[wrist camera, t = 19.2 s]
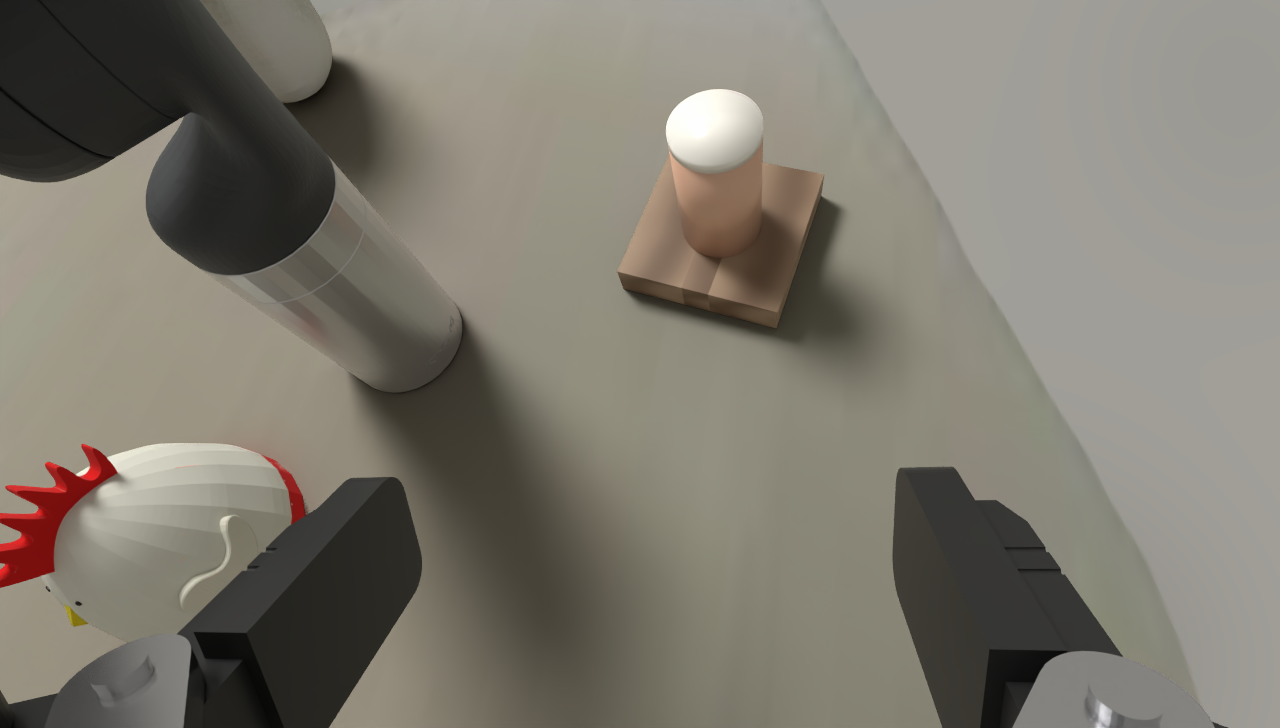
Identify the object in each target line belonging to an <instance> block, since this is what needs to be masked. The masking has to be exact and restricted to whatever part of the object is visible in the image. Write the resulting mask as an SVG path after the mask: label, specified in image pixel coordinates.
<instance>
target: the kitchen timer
mask: <svg viewBox="0 0 1280 728" xmlns="http://www.w3.org/2000/svg"><path fill="white" fill-rule="evenodd" d="M81 446H82V449H83V451H84V453H85V454H86V456H87V458H88V460H89V463H90V467H88V468H86V469H84V470H82V471H81V472H79V473H77V474H76V475H75V474H74V473H72V472H70V471H69V470H67V469H65V468H63V467H61V466H58V465H56V464H53V463H51V462H47V463H45V466H46V468H47V470H48V471H49V473H50V474H51V475H52V477H53V478H54V480H55V482H56V486H55V487H53V488H40V487H28V486H16V485H9V486H6V487H5V488H6V489H7V490H8V491H10V492H12V493H13V494H15V495H17V496H19V497H21V498H23V499H25V500H27V501H29V502H31V503H33V504H35V505H37V506H38V508H39V509H38V511H37V512H36V513H32V514H8V513H0V523H2V524H4V525H6V526H8V527H11V528H13V529H15V530H17V531H20V532H21V534H22V535H21V538H20V539H18V540H16V541H14V542H11V543H5V544H0V563H4V564H5V566H4V567H3V568H2V569H0V588H1V587H5V586H9V585H13V584H16V583H19V582H23V581H26V580H29V579H33V578H36V577H39V576H41V578H42V580H43V582H44V583H45V585H46V589H47V590H48V591H49V592H50V591H51V592H52V594H53V595H54V596H55V597H56V599H57V600H58V601H59V602H60V604H61V605H62V606H63V607H64V608H65V609H66V611H67V614H68V617H69V619H70V622H71V625H73V626H74V627H75V626H80V625H84V624H90V625H92V626H94V627H96V628H98V629H100V630H102V631H104V632H106V633H108V634H110V635H112V636H115V637H117V638H119V639H121V640H123V641H126V642H128V643H129V642H132V641H135V640H138V639H141V638H144V637H148V636H152V635H158V634H177V633H178V632H179V631H180V630H181V629H182V628H183V627H184V626H185V625H186V624H187V623H188V622H190V621H191V620H192V619H193V618H194V617H195V616H196V615H197V614H198V613H199V612H200V611H201V610H202V609H203V608H204V607H205V606H206V605H207V604H208V603H209V602H210V601H211V600H212V599H213V598H214V597H215V596H216V595H218V594H219V593H220V592H221V591H222V590H223V589H224V588H225V587H226V586H227V585H228V584H229V583H230V582H231V581H232V580H233V579H234V578H235V577H236V576H237V575H238V574H239V573H240V572H241V571H246V570H247V566H248V565H249V564H250V563H251V562H252V561H253V560H254V559H255V558H256V557H257V556H258V555H259V554H260V553H261V552H265V551H266V547H267V546H268V545H269V544H270V543H271V542H272V541H273V540H274V539H276V538H277V537H278V536H279V535H280V534H281V533H282V532H283V531H284V530H285V529H286V528H287V527H288V526H290V525H291V524H293V523H295V522H296V521H298V520H299V519H301V518H303V517H304V516H305V510H304V503H303V497H302V494H301V492H300V490H299V488H298V486H297V484H296V482H295V480H294V478H293V477H292V475H291V474H290V473H289V472H288V471H287V470H286V469H284V468H283V467H282V466H281V465H280V464H279V463H278V462H277V461H275V460H273V459H270V458H268V457H265V456H263V455H260V454H258V453H255V452H252V451H249V450H247V449H244V448H241V447H238V446H234V445H227V444H203V443H170V444H155V445H149V446H144V447H140V448H137V449H133V450H130V451H126V452H123V453H119V454H116V455H113V456H110V457H106V456H105V455H103V454H102V453H101V452H100V451H99V450H97V449H95V448H92V447H90V446H87V445H85V444H82V445H81Z"/></svg>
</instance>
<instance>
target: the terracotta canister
mask: <svg viewBox="0 0 1280 728" xmlns="http://www.w3.org/2000/svg"><path fill="white" fill-rule="evenodd" d="M666 136H667V142H668V148H669V154H670V160H671V166H672V171H673V177H674V183H675V189H676V195H677V201H678V207H679V213H680V218H681V224H682V230H683V235H684V237H685V239H686V241H687V243H688V244H689V245H690V246H691V247H692V248H693V249H694V250H695V251H697V252H699V253H700V254H703V255H705V256H709V257H715V258H724V257H730V256H734V255H737V254H739V253H741V252H743V251H745V250H746V249H748V248H749V247H750V246H751V245H752V244H753V243H754V242H755V241H756V239H757V237H758V235H759V233H760V230H761V224H762V166H763V117H762V114H761V111H760V109H759V108H758V106H757V105H756V104H755V102H754V101H752V100H751V99H750V98H748V97H747V96H745V95H743V94H741V93H739V92H736V91H731V90H724V89H715V90H708V91H703V92H700V93H697V94H694V95H692V96H690V97H688V98H687V99H685V100H684V101H682V102H681V103H680V104H679V105H678V106H677V107H676V108H675V109H674V110H673V112H672V113H671V115H670V117H669V119H668V122H667V126H666Z"/></svg>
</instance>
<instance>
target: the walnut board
mask: <svg viewBox="0 0 1280 728" xmlns="http://www.w3.org/2000/svg"><path fill="white" fill-rule="evenodd" d="M823 179H824V174H819V173H814V172H809V171H804V170H798V169H793V168H788V167H783V166H778V165H772V164H767V163H763V166H762V224H761V230H760V233H759V235H758V237H757V239H756V241H755V242H754V243H753V244H752V245H751V246H750V247H749V248H748V249H746V250H745V251H743V252H741V253H739V254H737V255H734V256H730V257H724V258H715V257H709V256H705V255H703V254H700V253H699V252H697V251H695V250H694V249H693V248H692V247H691V246H690V245H689V244H688V243H687V241H686V239H685V237H684V235H683V230H682V224H681V218H680V213H679V207H678V201H677V195H676V189H675V183H674V177H673V171H672V166H671V160H670V154H669V155H668V158H667V160H666V162H665V165H664V167H663V169H662V171H661V174H660V176H659V178H658V180H657V183H656V185H655V187H654V189H653V192H652V194H651V196H650V199H649V201H648V203H647V205H646V208H645V210H644V212H643V214H642V217H641V219H640V221H639V224H638V226H637V228H636V230H635V233H634V235H633V237H632V239H631V242H630V244H629V246H628V248H627V251H626V253H625V255H624V258H623V260H622V262H621V264H620V267H619V269H618V271H617V272H618V275H619V278H620V280H621V283H622V286H623V289H627V290H631V291H635V292H639V293H642V294H646V295H650V296H654V297H658V298H661V299H665V300H669V301H673V302H677V303H681V304H684V305H688V306H692V307H696V308H700V309H703V310H707V311H711V312H715V313H719V314H723V315H726V316H730V317H734V318H738V319H742V320H745V321H749V322H753V323H757V324H761V325H765V326H768V327H772V328H777V325H778V322H779V320H780V317H781V314H782V311H783V308H784V305H785V302H786V299H787V296H788V293H789V290H790V287H791V284H792V281H793V278H794V275H795V272H796V269H797V266H798V263H799V260H800V257H801V254H802V251H803V248H804V245H805V242H806V239H807V236H808V233H809V230H810V227H811V224H812V221H813V218H814V215H815V212H816V209H817V206H818V203H819V201H820V198H821V193H822V186H823Z"/></svg>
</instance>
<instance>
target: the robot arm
mask: <svg viewBox="0 0 1280 728" xmlns="http://www.w3.org/2000/svg"><path fill="white" fill-rule="evenodd" d="M183 116H184V118H183V121H182V123H181V125H180V126H179V128H178V130H177V131H176V133H175V134H174V136H173V137H172V139H171V140H170V142H169V143H168V145H167V146H166V148H165V149H164V151H163V152H162V153H161V155H160V157H159V159H158V160H157V162H156V164H155V166H154V168H153V171H152V173H151V176H150V179H149V182H148V186H147V190H146V211H147V215H148V218H149V221H150V224H151V226H152V228H153V230H154V231H155V232H156V234H157V235H158V236H159V237H160V239H161V240H162V241H163V242H164V243H165V244H166V245H168V246H169V247H170V248H171V249H172V250H174V251H175V252H177V253H178V254H179V255H181V256H182V257H184V258H185V259H187V260H188V261H189V262H191V263H192V264H194V265H195V266H197V267H198V268H200V269H201V270H203V271H204V272H205V273H207V274H208V275H210V276H211V277H213V278H214V279H216V280H217V281H218V282H220V283H221V284H223V285H224V286H226V287H227V288H229V289H230V290H231V291H233V292H234V293H236V294H237V295H239V296H241V297H242V298H244V299H245V300H246V301H248V302H249V303H251V304H252V305H254V306H255V307H257V308H258V309H259V310H261V311H262V312H264V313H265V314H267V315H268V316H270V317H271V318H272V319H274V320H275V321H277V322H278V323H280V324H281V325H283V326H284V327H285V328H287V329H288V330H290V331H291V332H293V333H294V334H295V335H297V336H298V337H300V338H301V339H303V340H304V341H306V342H307V343H308V344H310V345H311V346H313V347H314V348H316V349H317V350H319V351H320V352H321V353H323V354H324V355H326V356H327V357H329V358H330V359H332V360H333V361H334V362H336V363H337V364H339V365H340V366H341V367H343V368H344V369H346V370H347V371H349V372H350V373H352V374H353V375H355V376H356V377H358V378H359V379H360V380H362V381H363V382H365V383H366V384H368V385H369V386H371V387H372V388H375V389H377V390H380V391H383V392H392V393H397V392H406V391H410V390H413V389H416V388H419V387H421V386H423V385H425V384H427V383H429V382H430V381H432V380H433V379H434V378H436V377H437V376H438V375H440V374H441V373H442V372H443V370H444V369H445V368H446V367H447V366H448V365H449V364H450V362H451V361H452V359H453V357H454V356H455V354H456V352H457V350H458V347H459V345H460V342H461V336H462V319H461V316H460V312H459V310H458V308H457V306H456V305H455V303H454V302H453V301H452V299H451V298H450V297H449V296H448V295H447V294H446V292H445V291H444V290H443V289H442V288H441V287H440V285H439V284H438V283H437V282H436V281H435V280H434V278H433V277H432V276H431V275H430V273H429V272H428V271H427V270H426V269H425V268H424V266H423V265H422V264H421V263H420V262H419V261H418V259H417V258H416V257H415V256H414V255H413V254H412V252H411V251H410V250H409V249H408V248H407V247H406V245H405V244H404V243H403V242H402V241H401V240H400V239H399V237H398V236H397V235H396V234H395V233H394V232H393V230H392V229H391V228H390V227H389V226H388V225H387V223H386V222H385V221H384V220H383V219H382V218H381V216H380V215H379V214H378V213H377V212H376V211H375V209H374V208H373V207H372V206H371V205H370V204H369V202H368V201H367V200H366V199H365V198H364V197H363V196H362V194H361V193H360V192H359V191H358V190H357V189H356V187H355V186H354V185H353V184H352V183H351V182H350V181H349V180H348V178H347V177H346V176H345V175H344V174H343V173H342V171H341V170H340V169H339V168H338V167H337V166H336V164H335V163H334V162H333V161H332V160H331V159H330V157H329V156H328V155H327V154H326V153H325V151H324V150H323V149H322V148H321V147H320V146H319V145H318V143H317V142H316V141H315V140H314V139H313V138H312V137H311V136H310V135H309V133H308V132H307V131H306V130H305V129H304V128H303V127H302V125H301V124H300V123H299V122H298V121H297V120H296V119H295V117H294V116H293V115H292V114H291V113H290V112H289V111H288V109H287V108H286V107H285V106H284V105H283V104H282V103H281V101H280V100H279V99H278V98H277V97H276V96H275V94H274V93H273V92H272V91H271V90H270V89H269V87H268V86H267V85H266V84H265V83H264V81H263V80H262V79H261V78H260V77H259V76H258V74H257V73H256V72H255V71H254V70H253V68H252V67H251V66H250V65H249V63H248V62H247V61H246V59H245V58H244V57H243V56H242V54H241V53H240V52H239V51H238V49H237V48H236V47H235V46H234V44H233V43H232V42H231V41H230V39H229V38H228V37H227V35H226V34H225V33H224V32H223V30H222V29H221V28H220V26H219V25H218V24H217V22H216V21H215V20H214V18H213V17H212V16H211V14H210V13H209V12H208V11H207V9H206V8H205V7H204V5H203V4H202V3H201V1H200V0H0V174H1V175H5V176H8V177H11V178H16V179H21V180H26V181H31V182H59V181H64V180H67V179H70V178H74V177H77V176H79V175H82V174H85V173H87V172H90V171H92V170H94V169H96V168H98V167H100V166H102V165H104V164H105V163H107V162H109V161H110V160H112V159H114V158H115V157H116V156H118V155H121V154H122V153H124V152H125V151H127V150H129V149H130V148H132V147H134V146H135V145H137V144H139V143H140V142H142V141H144V140H145V139H147V138H149V137H150V136H152V135H154V134H155V133H157V132H158V131H160V130H162V129H163V128H165V127H167V126H168V125H170V124H172V123H173V122H175V121H177V120H178V119H179V118H182V117H183ZM421 571H422V557H421V551H420V547H419V544H418V540H417V536H416V532H415V528H414V525H413V521H412V517H411V513H410V509H409V505H408V502H407V498H406V494H405V491H404V487H403V485H402V484H401V482H400V481H399V480H398V479H397V478H394V477H377V478H350V479H348V480H346V481H345V482H344V483H343V484H342V485H341V486H340V487H339V488H338V489H337V490H336V491H335V492H334V493H333V494H332V495H331V496H330V497H329V498H328V499H327V500H326V501H325V502H324V503H323V504H322V505H321V506H320V507H319V508H317V509H316V510H314V511H313V512H311V513H309V514H308V515H306V516H304V517H303V518H301V519H299V520H298V521H296V522H295V523H293V524H291V525H290V526H288V527H287V528H286V529H285V530H284V531H283V532H282V533H281V534H280V535H279V536H278V537H277V538H276V539H274V540H273V541H272V542H271V543H270V544H269V545H268V546H267V547H266V551H265V552H261V553H260V554H259V555H258V556H257V557H256V558H255V559H254V560H253V561H252V562H251V563H250V564H249V565H248V566H247V570H246V571H241V572H240V573H239V574H238V575H237V576H236V577H235V578H234V579H233V580H232V581H231V582H230V583H229V584H228V585H227V586H226V587H225V588H224V589H223V590H222V591H221V592H220V593H219V594H218V595H216V596H215V597H214V598H213V599H212V600H211V601H210V602H209V603H208V604H207V605H206V606H205V607H204V608H203V609H202V610H201V611H200V612H199V613H198V614H197V615H196V616H195V617H194V618H193V619H192V620H191V621H190V622H188V623H187V624H186V625H185V626H184V627H183V628H182V629H181V630H180V631H179V632H178V633H177V634H158V635H152V636H148V637H144V638H141V639H138V640H135V641H132V642H129V643H127V644H124V645H122V646H120V647H118V648H116V649H114V650H112V651H110V652H108V653H106V654H104V655H103V656H101V657H99V658H97V659H96V660H94V661H93V662H91V663H90V664H88V665H87V666H86V667H84V668H83V669H82V670H81V671H79V672H78V673H77V674H76V675H75V676H74V677H72V678H71V679H70V680H69V681H68V682H67V683H66V684H65V686H64V687H63V688H62V689H61V690H60V692H59V693H57V694H53V695H48V696H44V697H40V698H35V699H31V700H26V701H22V702H18V703H13V704H8V703H7V701H6V699H5V697H4V696H3V694H2V692H1V691H0V728H329V726H330V725H331V723H332V722H333V720H334V719H335V717H336V715H337V714H338V712H339V711H340V709H341V708H342V706H343V705H344V703H345V701H346V700H347V698H348V697H349V695H350V694H351V692H352V690H353V689H354V687H355V686H356V684H357V683H358V681H359V679H360V678H361V676H362V675H363V673H364V672H365V670H366V669H367V667H368V665H369V664H370V662H371V661H372V659H373V658H374V656H375V654H376V653H377V651H378V650H379V648H380V647H381V645H382V643H383V642H384V640H385V639H386V637H387V636H388V634H389V633H390V631H391V629H392V628H393V626H394V625H395V623H396V622H397V620H398V618H399V617H400V615H401V614H402V612H403V611H404V609H405V607H406V606H407V604H408V603H409V601H410V600H411V598H412V596H413V595H414V593H415V591H416V590H417V587H418V584H419V581H420V577H421ZM893 572H894V580H895V586H896V591H897V595H898V598H899V601H900V604H901V607H902V610H903V613H904V616H905V619H906V622H907V625H908V628H909V630H910V633H911V636H912V639H913V642H914V645H915V648H916V651H917V654H918V657H919V660H920V663H921V666H922V669H923V672H924V675H925V678H926V680H927V683H928V686H929V689H930V692H931V695H932V698H933V701H934V704H935V707H936V710H937V713H938V716H939V719H940V722H941V725H942V727H943V728H1227V727H1224V726H1221V725H1219V724H1216V723H1214V722H1212V721H1211V719H1210V717H1209V716H1208V714H1207V713H1206V712H1205V710H1204V709H1203V708H1202V706H1201V705H1200V704H1199V703H1198V702H1197V701H1196V700H1195V699H1194V698H1193V697H1192V696H1191V695H1190V694H1189V693H1188V692H1186V691H1185V690H1184V689H1183V688H1182V687H1180V686H1179V685H1178V684H1176V683H1175V682H1173V681H1172V680H1170V679H1169V678H1167V677H1166V676H1164V675H1162V674H1161V673H1159V672H1157V671H1155V670H1153V669H1151V668H1149V667H1147V666H1145V665H1143V664H1140V663H1138V662H1135V661H1133V660H1130V659H1127V658H1124V657H1123V656H1122V655H1121V653H1120V652H1119V650H1118V649H1117V648H1116V646H1115V645H1114V643H1113V642H1112V641H1111V639H1110V638H1109V636H1108V635H1107V634H1106V632H1105V631H1104V629H1103V628H1102V626H1101V625H1100V624H1099V622H1098V621H1097V619H1096V618H1095V617H1094V615H1093V614H1092V612H1091V611H1090V610H1089V608H1088V607H1087V605H1086V604H1085V602H1084V601H1083V600H1082V598H1081V597H1080V595H1079V594H1078V593H1077V591H1076V590H1075V588H1074V587H1073V586H1072V584H1071V583H1070V581H1069V580H1068V578H1067V577H1066V576H1065V575H1062V574H1061V569H1060V567H1059V566H1058V564H1057V563H1056V562H1055V560H1054V559H1053V557H1052V556H1051V554H1050V553H1049V552H1046V550H1045V546H1044V545H1043V543H1042V542H1041V540H1040V539H1039V537H1038V536H1037V535H1036V533H1035V532H1034V530H1033V529H1032V528H1031V526H1030V525H1029V523H1028V522H1027V521H1026V520H1024V519H1023V518H1021V517H1020V516H1018V515H1017V514H1016V513H1014V512H1013V511H1011V510H1010V509H1008V508H1007V507H1005V506H1004V505H1003V504H1001V503H1000V502H998V501H997V500H975V499H974V498H973V496H972V495H971V493H970V491H969V490H968V488H967V486H966V485H965V483H964V482H963V480H962V478H961V477H960V475H959V473H958V472H957V470H956V469H955V468H954V467H917V468H900V469H899V470H898V473H897V478H896V492H895V513H894V534H893Z"/></svg>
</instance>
